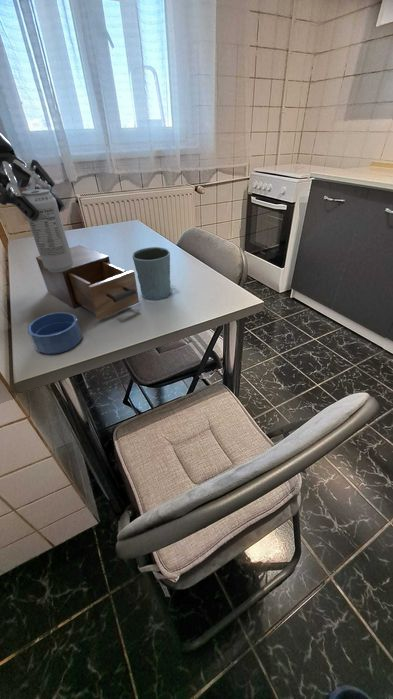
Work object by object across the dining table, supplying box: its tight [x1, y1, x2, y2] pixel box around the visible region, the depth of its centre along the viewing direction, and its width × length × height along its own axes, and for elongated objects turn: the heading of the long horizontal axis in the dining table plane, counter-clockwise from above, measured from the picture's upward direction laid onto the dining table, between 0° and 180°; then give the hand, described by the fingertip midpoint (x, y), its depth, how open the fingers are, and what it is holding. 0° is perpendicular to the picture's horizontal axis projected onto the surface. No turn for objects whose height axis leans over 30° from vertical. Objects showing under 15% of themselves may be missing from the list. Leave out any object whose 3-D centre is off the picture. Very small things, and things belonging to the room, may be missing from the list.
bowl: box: [27, 311, 83, 355], centre depth 66 cm, size 10×10×5 cm
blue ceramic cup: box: [131, 246, 172, 301], centre depth 83 cm, size 10×10×12 cm
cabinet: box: [35, 244, 111, 309], centre depth 86 cm, size 16×14×11 cm
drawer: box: [66, 261, 140, 321], centre depth 77 cm, size 19×13×9 cm
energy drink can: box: [21, 188, 73, 272], centre depth 60 cm, size 6×6×15 cm
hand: (49, 212), depth 57 cm, fingers closed on energy drink can, 6 cm apart
